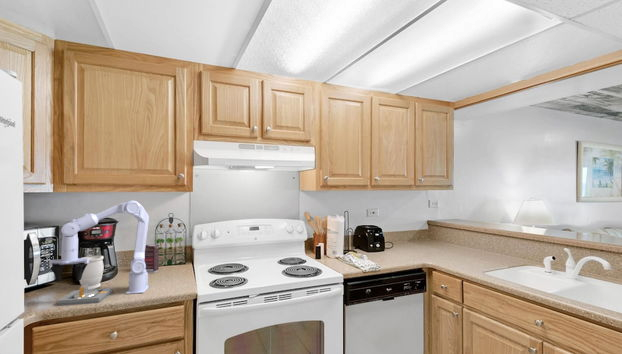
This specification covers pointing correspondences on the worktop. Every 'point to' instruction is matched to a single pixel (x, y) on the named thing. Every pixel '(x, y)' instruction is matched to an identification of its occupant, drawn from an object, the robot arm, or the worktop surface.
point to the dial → (86, 292)
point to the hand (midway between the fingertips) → (69, 280)
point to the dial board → (71, 300)
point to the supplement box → (152, 258)
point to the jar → (93, 272)
